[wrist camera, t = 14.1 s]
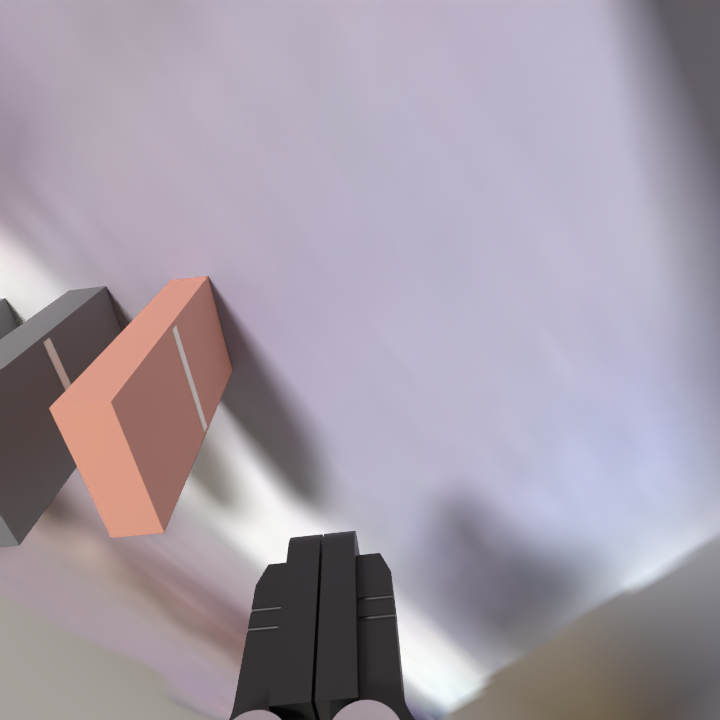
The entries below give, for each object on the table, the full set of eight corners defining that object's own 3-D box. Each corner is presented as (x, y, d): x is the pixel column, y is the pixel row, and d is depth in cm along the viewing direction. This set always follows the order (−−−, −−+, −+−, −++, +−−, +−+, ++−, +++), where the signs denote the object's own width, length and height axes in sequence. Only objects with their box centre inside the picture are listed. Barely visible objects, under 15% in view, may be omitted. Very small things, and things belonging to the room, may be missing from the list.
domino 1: (106, 382, 27) (-34, 550, 17) (68, 291, 24) (-122, 425, 14) (141, 378, 26) (20, 545, 17) (106, 286, 24) (-59, 418, 14)
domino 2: (197, 374, 26) (109, 537, 17) (169, 280, 24) (47, 408, 14) (233, 370, 26) (165, 532, 17) (209, 275, 24) (112, 401, 14)
